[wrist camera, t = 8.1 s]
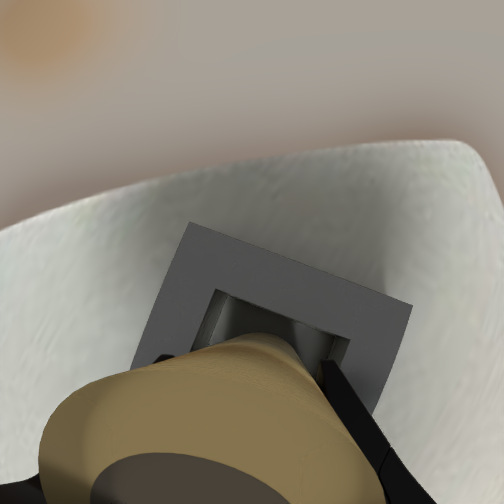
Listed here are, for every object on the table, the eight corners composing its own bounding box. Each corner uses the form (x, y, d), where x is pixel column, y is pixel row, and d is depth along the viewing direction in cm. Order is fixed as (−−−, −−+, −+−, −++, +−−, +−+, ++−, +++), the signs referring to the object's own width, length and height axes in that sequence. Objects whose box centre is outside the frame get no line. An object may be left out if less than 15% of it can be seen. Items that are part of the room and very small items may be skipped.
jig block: (387, 309, 16) (412, 305, 13) (311, 480, 14) (318, 509, 11) (205, 240, 18) (189, 221, 14) (138, 410, 16) (111, 426, 12)
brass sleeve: (318, 381, 14) (439, 541, 2) (249, 428, 14) (180, 631, 2) (267, 314, 16) (228, 279, 3) (199, 363, 15) (-4, 445, 3)
